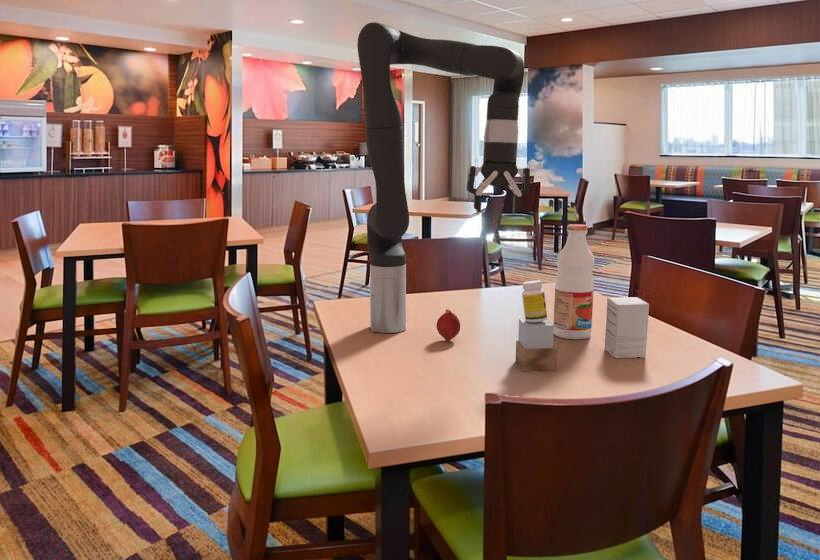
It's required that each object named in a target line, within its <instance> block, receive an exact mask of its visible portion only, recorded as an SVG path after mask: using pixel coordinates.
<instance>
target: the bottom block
mask: <svg viewBox="0 0 820 560" xmlns="http://www.w3.org/2000/svg"><path fill="white" fill-rule="evenodd" d="M557 357H558V348H557V347H556V346H555V345H554V344H553V348H543V349H525V348H524V347H523V346H522V345H521V343H520V342H519V341H518V339H516V340H515V360H514V361H515V363H516V364H517V366H519V368H520V369H521V370H522V372H524V373H532V372H533V373H534V372H535V373H537V372H557V362H558V359H557Z"/></svg>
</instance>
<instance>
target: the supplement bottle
mask: <svg viewBox="0 0 820 560" xmlns="http://www.w3.org/2000/svg"><path fill="white" fill-rule="evenodd" d="M542 287H543V284H542V280H539V279H538V280H530V281H529V280H528V281H524V282H522V289H523V291H522V293H521V296H522V297H521V298H522V304H523V313H524V314H523V315H524V319H525V321H526V322H540V321H544V320H546V319H547V320H548V314H547V313H548V312H547V304H546V295H545V294H546V293H545V291H544V289H543V288H542Z"/></svg>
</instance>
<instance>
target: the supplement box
mask: <svg viewBox="0 0 820 560" xmlns="http://www.w3.org/2000/svg"><path fill="white" fill-rule="evenodd" d="M606 300H607V301H606V319H605V333H604V334H605V335H604V350H606V351H607V353H608V354H610V355H611V356H612V355H613V356H614V357H615V359H619V358H620V359H623V358H624V359H626V358H627V359H629V358H630V359H634V358H635V359H636V358H637V357H640V358H646V356H647V341H648V327H649V326H648V325H649V311H650V304H649V303H648V302H647V301H644V300H643V299H642V298H640V297H637V296H634V297H633V296H630V297H627V296H626V297H624V296H623V297H607V299H606ZM613 356H612V357H613ZM614 357H613V358H614Z"/></svg>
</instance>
